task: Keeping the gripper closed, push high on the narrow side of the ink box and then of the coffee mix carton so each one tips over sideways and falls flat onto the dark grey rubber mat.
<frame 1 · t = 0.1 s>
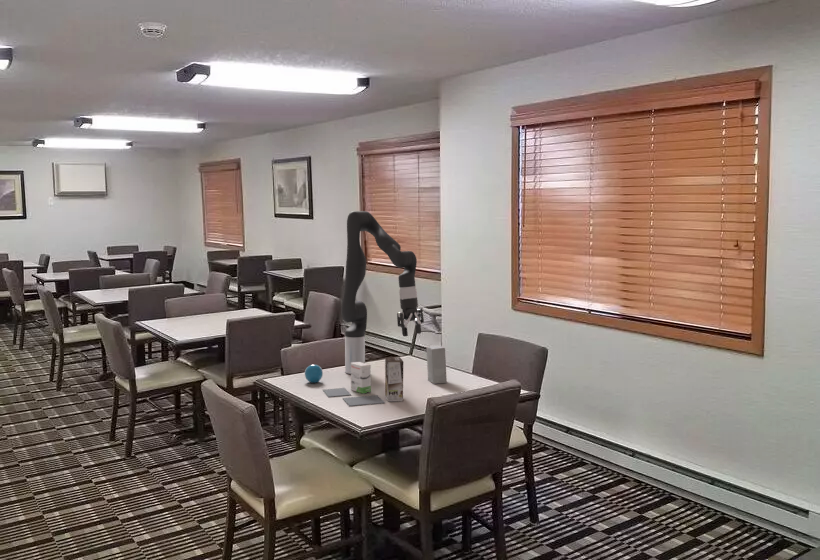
hand: (412, 334, 296), 22 cm above the table, tool pointing down, fingers open, 8 cm apart
ink box: (360, 391, 289), on the table
ball: (313, 382, 303), on the table
coffee box: (394, 398, 278), on the table
mat: (355, 396, 281), on the table
skincare box: (436, 382, 305), on the table
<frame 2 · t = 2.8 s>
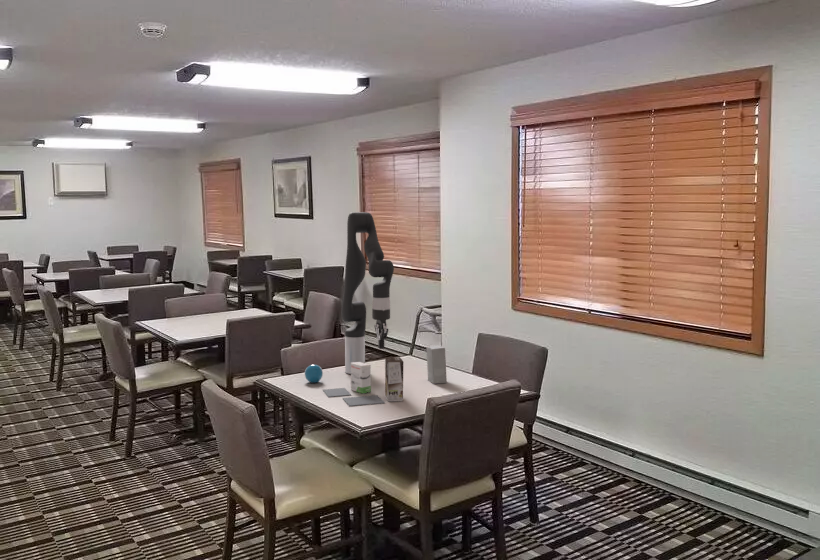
hand: (381, 348, 290), 18 cm above the table, tool pointing down, fingers closed
nothing on the table moved.
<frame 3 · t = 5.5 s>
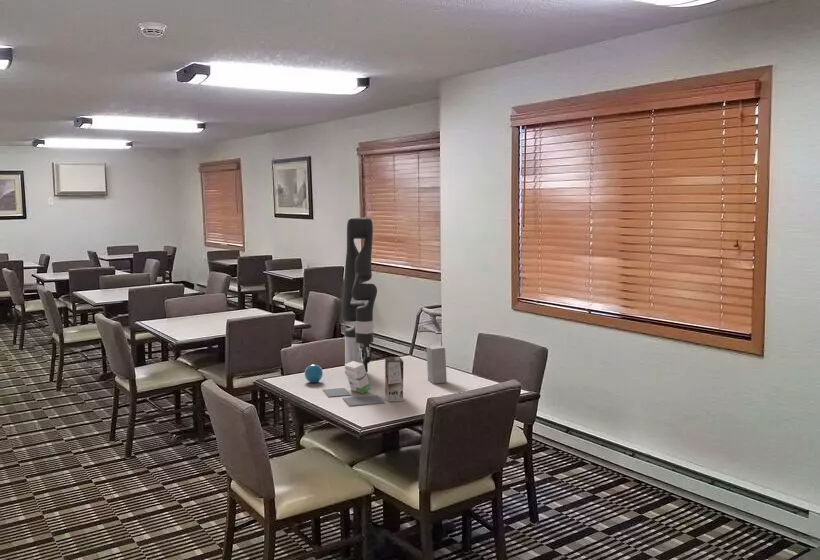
hand: (364, 371, 288), 8 cm above the table, tool pointing down, fingers closed
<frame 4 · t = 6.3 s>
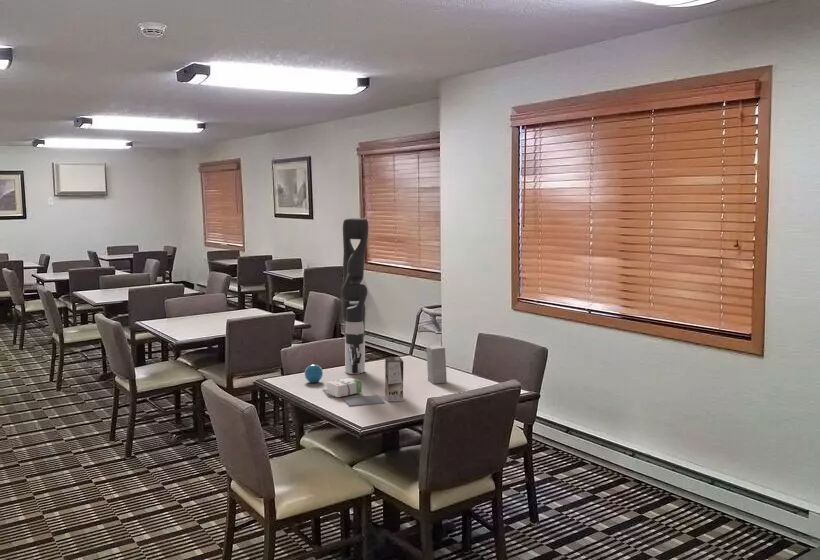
hand: (354, 372, 287), 8 cm above the table, tool pointing down, fingers closed
ink box: (356, 385, 288), point 3 cm above the table, touching mat
everything else where it was.
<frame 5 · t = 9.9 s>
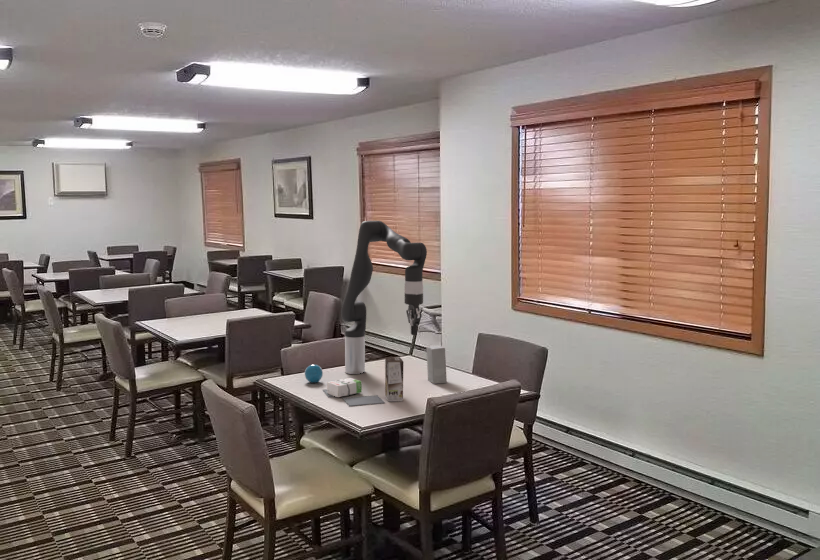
hand: (413, 334, 278), 26 cm above the table, tool pointing down, fingers closed
nothing on the table moved.
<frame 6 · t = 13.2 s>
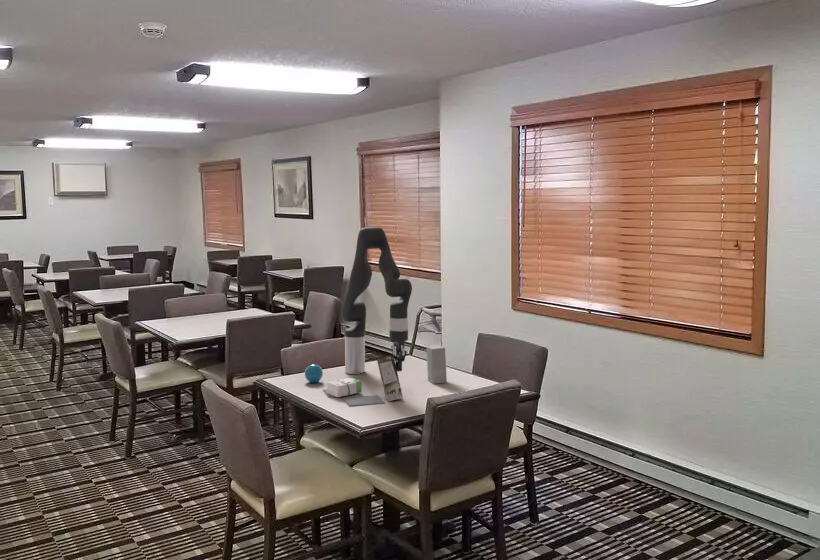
hand: (398, 370, 278), 11 cm above the table, tool pointing down, fingers closed
coffee box: (394, 397, 278), on the table, touching gripper
everything else where it was.
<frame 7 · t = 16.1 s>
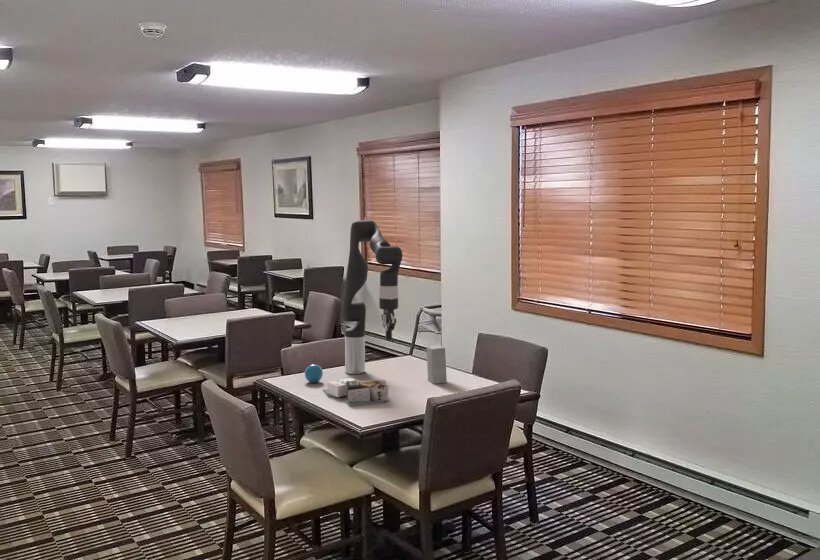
hand: (388, 339, 275), 24 cm above the table, tool pointing down, fingers closed
coffee box: (387, 390, 277), point 4 cm above the table, touching mat
everything else where it was.
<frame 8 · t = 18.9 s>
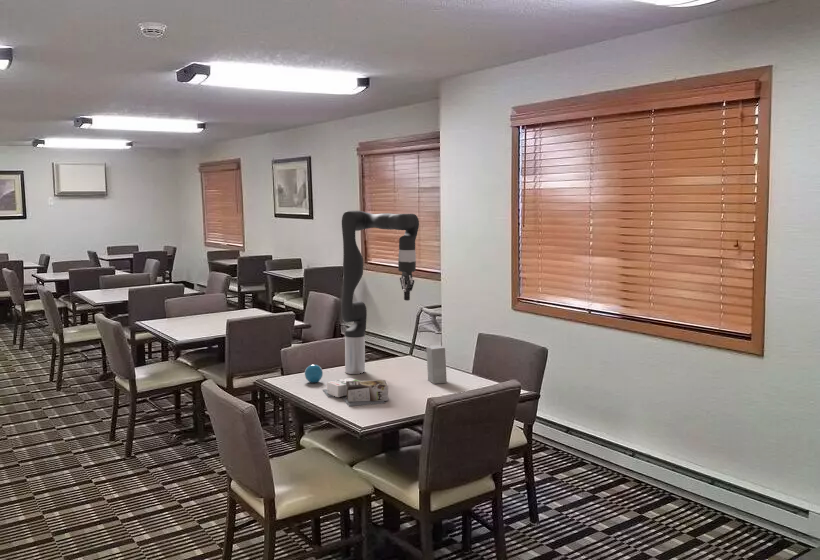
hand: (406, 300, 297), 37 cm above the table, tool pointing down, fingers closed
nothing on the table moved.
at the end: ink box tilted 90°; coffee box tilted 90°; coffee box inside the target area (5.4 cm from its centre), point 3.6 cm above the table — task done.
